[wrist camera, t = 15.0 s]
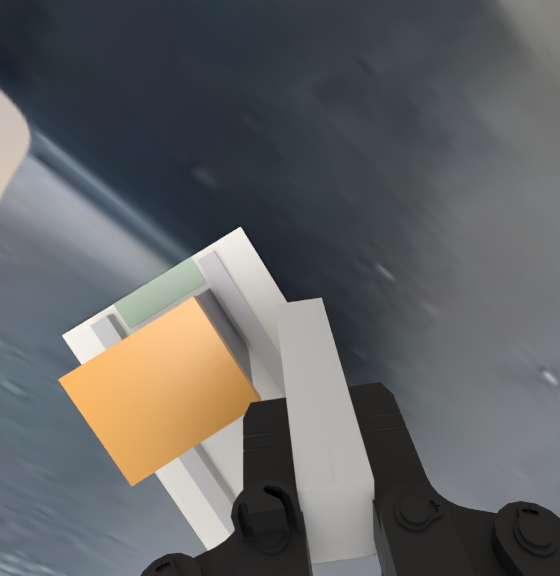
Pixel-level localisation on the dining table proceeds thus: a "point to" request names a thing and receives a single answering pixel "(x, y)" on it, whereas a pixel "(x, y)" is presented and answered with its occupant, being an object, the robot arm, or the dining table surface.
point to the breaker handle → (165, 386)
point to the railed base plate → (263, 359)
